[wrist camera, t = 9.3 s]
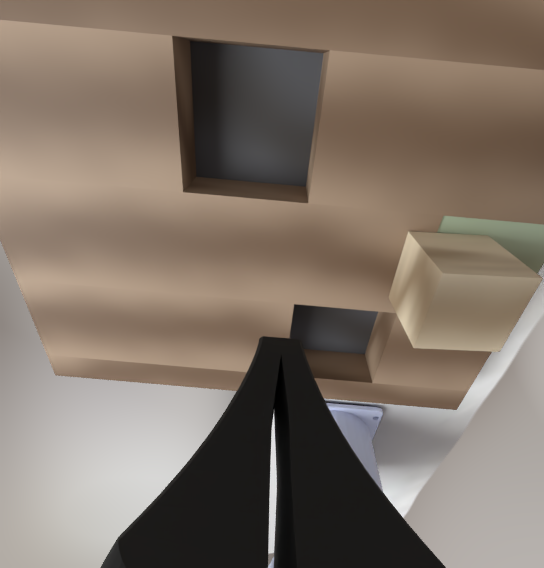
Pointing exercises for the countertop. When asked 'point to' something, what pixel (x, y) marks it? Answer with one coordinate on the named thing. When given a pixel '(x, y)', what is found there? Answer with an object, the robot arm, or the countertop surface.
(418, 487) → the countertop surface
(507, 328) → the beech cube
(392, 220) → the trap deck
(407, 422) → the countertop surface
